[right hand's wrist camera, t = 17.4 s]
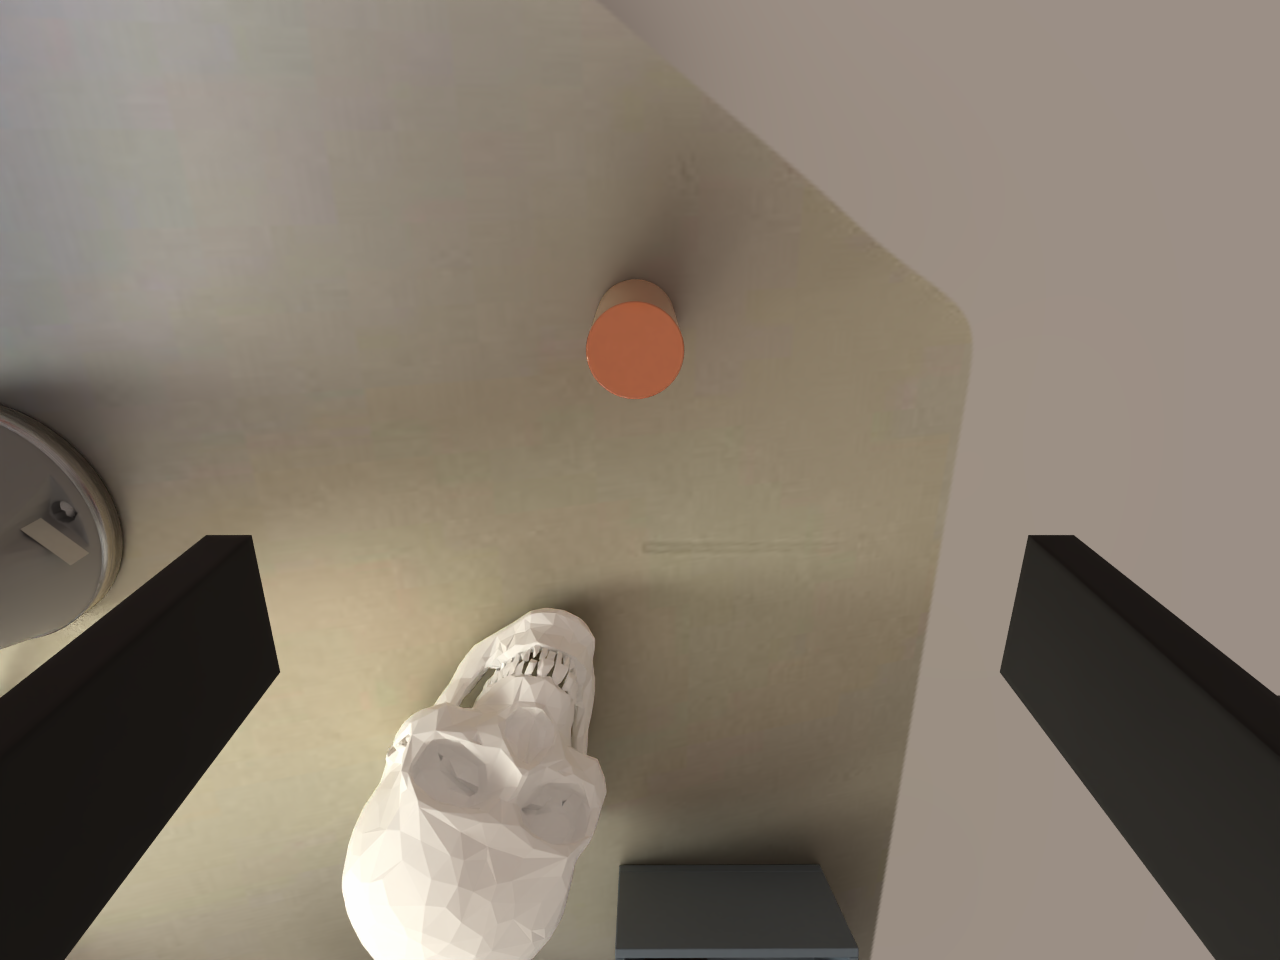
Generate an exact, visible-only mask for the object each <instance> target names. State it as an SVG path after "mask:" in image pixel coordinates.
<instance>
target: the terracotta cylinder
mask: <svg viewBox="0 0 1280 960" xmlns="http://www.w3.org/2000/svg"><path fill="white" fill-rule="evenodd" d="M586 357H587V362H588V365H589V368H590V371H591V372H592V374H593V376H594V377H595V379H596V380H597V381H598V383H599V384H600V385H601V386H602V387H604V388H605V389H606V390H608V391H609V392H611V393H613V394H615V395H617V396H620V397H623V398H628V399H642V398H648V397H651V396H654V395H656V394H658V393H660V392H661V391H663V390H664V389H666V388H667V387H668V386H669V385H670V384H671V383H672V382H673V381H674V379H675V378H676V377H677V375H678V373H679V371H680V369H681V366H682V363H683V359H684V342H683V337H682V334H681V331H680V328H679V324H678V321H677V318H676V315H675V312H674V308H673V305H672V303H671V301H670V299H669V297H668V296H667V294H666V293H665V292H664V291H663V290H662V289H661V288H660V287H658V286H657V285H655V284H653V283H651V282H649V281H646V280H641V279H630V280H625V281H622V282H620V283H618V284H616V285H614V286H613V287H611V288H610V289H609V290H608V291H607V292H606V293H605V294H604V296H603V297H602V299H601V301H600V303H599V305H598V308H597V311H596V314H595V317H594V320H593V323H592V326H591V329H590V332H589V335H588V338H587V343H586Z"/></svg>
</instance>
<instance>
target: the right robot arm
mask: <svg viewBox="0 0 1280 960" xmlns="http://www.w3.org/2000/svg"><path fill="white" fill-rule="evenodd" d="M122 549H123V542H122V531H121V525H120V521H119V517H118V514H117V511H116V508H115V505H114V503H113V501H112V499H111V496H110V494H109V492H108V490H107V489H106V487H105V485H104V484H103V482H102V480H101V479H100V478H99V476H98V475H97V473H96V472H95V470H94V469H93V468H92V467H91V466H90V464H89V463H88V462H87V461H86V460H85V458H84V457H83V456H82V455H81V454H80V453H79V452H78V451H77V450H76V449H75V448H74V447H72V446H71V445H70V444H69V443H68V442H67V441H66V440H64V439H63V438H62V437H60V436H59V435H58V434H57V433H55V432H54V431H52V430H51V429H49V428H48V427H46V426H45V425H43V424H42V423H40V422H38V421H36V420H34V419H33V418H31V417H29V416H27V415H25V414H23V413H20V412H18V411H16V410H13V409H11V408H8V407H5V406H3V405H0V649H3V648H6V647H9V646H12V645H14V644H17V643H20V642H23V641H26V640H29V639H34V638H38V637H42V636H45V635H48V634H51V633H54V632H56V631H58V630H60V629H62V628H64V627H66V626H67V625H69V624H70V623H72V622H73V621H75V620H76V619H77V618H79V617H80V616H81V615H83V614H84V613H85V612H86V611H88V610H89V609H90V608H92V607H93V606H94V605H95V604H97V603H98V602H99V601H100V600H101V599H102V598H103V597H104V596H105V594H106V593H107V592H108V591H109V589H110V588H111V586H112V585H113V583H114V581H115V579H116V577H117V574H118V571H119V568H120V564H121V559H122ZM279 673H280V669H279V664H278V660H277V655H276V650H275V645H274V640H273V636H272V631H271V626H270V621H269V617H268V612H267V607H266V602H265V597H264V593H263V588H262V583H261V578H260V573H259V569H258V564H257V559H256V554H255V549H254V545H253V540H252V535H206V536H205V537H203V538H202V539H201V540H200V541H198V542H197V543H196V544H194V545H193V546H192V547H191V548H189V549H188V550H187V551H186V552H184V553H183V554H182V555H181V556H179V557H178V558H177V559H175V560H174V561H173V562H172V563H170V564H169V565H168V566H167V567H165V568H164V569H163V570H162V571H160V572H159V573H158V574H157V575H155V576H154V577H153V578H151V579H150V580H149V581H148V582H146V583H145V584H144V585H143V586H141V587H140V588H139V589H138V590H136V591H135V592H134V593H132V594H131V595H130V596H129V597H127V598H126V599H125V600H124V601H122V602H121V603H120V604H119V605H117V606H116V607H115V608H113V609H112V610H111V611H110V612H108V613H107V614H106V615H105V616H103V617H102V618H101V619H100V620H98V621H97V622H96V623H95V624H93V625H92V626H91V627H89V628H88V629H87V630H86V631H84V632H83V633H82V634H81V635H79V636H78V637H77V638H76V639H74V640H73V641H72V642H70V643H69V644H68V645H67V646H65V647H64V648H63V649H62V650H60V651H59V652H58V653H57V654H55V655H54V656H53V657H52V658H50V659H49V660H48V661H46V662H45V663H44V664H43V665H41V666H40V667H39V668H38V669H36V670H35V671H34V672H33V673H31V674H30V675H29V676H27V677H26V678H25V679H24V680H22V681H21V682H20V683H19V684H17V685H16V686H15V687H14V688H12V689H11V690H10V691H8V692H7V693H6V694H5V695H3V696H2V697H1V698H0V960H65V958H66V957H67V956H68V954H69V953H70V952H71V950H72V949H73V948H74V946H75V945H76V944H77V942H78V941H79V940H80V938H81V937H82V936H83V934H84V933H85V932H86V930H87V929H88V928H89V926H90V925H91V924H92V922H93V921H94V920H95V918H96V917H97V916H98V914H99V913H100V912H101V910H102V909H103V908H104V906H105V905H106V904H107V902H108V901H109V900H110V898H111V897H112V896H113V894H114V893H115V892H116V890H117V889H118V888H119V886H120V885H121V884H122V882H123V881H124V880H125V878H126V877H127V876H128V874H129V873H130V872H131V870H132V869H133V868H134V866H135V865H136V864H137V862H138V861H139V860H140V858H141V857H142V856H143V854H144V853H145V852H146V850H147V849H148V848H149V846H150V845H151V844H152V842H153V841H154V840H155V838H156V837H157V836H158V834H159V833H160V832H161V830H162V829H163V828H164V826H165V825H166V824H167V822H168V821H169V820H170V818H171V817H172V816H173V814H174V813H175V812H176V810H177V809H178V808H179V806H180V805H181V804H182V802H183V801H184V800H185V798H186V797H187V796H188V794H189V793H190V792H191V790H192V789H193V788H194V786H195V785H196V784H197V782H198V781H199V780H200V778H201V777H202V776H203V774H204V773H205V772H206V770H207V769H208V768H209V766H210V765H211V764H212V762H213V761H214V760H215V758H216V757H217V756H218V754H219V753H220V752H221V750H222V749H223V748H224V746H225V745H226V744H227V742H228V741H229V740H230V738H231V737H232V736H233V734H234V733H235V732H236V730H237V729H238V728H239V726H240V725H241V724H242V722H243V721H244V720H245V718H246V717H247V716H248V714H249V713H250V712H251V710H252V709H253V708H254V706H255V705H256V704H257V702H258V701H259V700H260V698H261V697H262V696H263V694H264V693H265V692H266V690H267V689H268V688H269V686H270V685H271V684H272V682H273V681H274V680H275V678H276V677H277V676H278V674H279ZM1000 673H1001V674H1002V676H1003V677H1004V678H1005V680H1006V681H1007V682H1008V684H1009V685H1010V686H1011V688H1012V689H1013V690H1014V692H1015V693H1016V694H1017V696H1018V697H1019V698H1020V700H1021V701H1022V702H1023V704H1024V705H1025V706H1026V707H1027V709H1028V710H1029V712H1030V713H1031V714H1032V716H1033V717H1034V718H1035V720H1036V721H1037V722H1038V724H1039V725H1040V726H1041V728H1042V729H1043V730H1044V732H1045V733H1046V734H1047V736H1048V737H1049V738H1050V740H1051V741H1052V742H1053V744H1054V745H1055V746H1056V748H1057V749H1058V750H1059V752H1060V753H1061V754H1062V756H1063V757H1064V758H1065V760H1066V761H1067V762H1068V764H1069V765H1070V766H1071V768H1072V769H1073V770H1074V772H1075V773H1076V774H1077V776H1078V777H1079V778H1080V780H1081V781H1082V782H1083V784H1084V785H1085V786H1086V788H1087V789H1088V790H1089V792H1090V793H1091V794H1092V796H1093V797H1094V798H1095V800H1096V801H1097V802H1098V804H1099V805H1100V806H1101V808H1102V809H1103V810H1104V812H1105V813H1106V814H1107V815H1108V817H1109V818H1110V820H1111V821H1112V822H1113V823H1114V825H1115V826H1116V828H1117V829H1118V830H1119V831H1120V833H1121V834H1122V836H1123V837H1124V838H1125V840H1126V841H1127V842H1128V844H1129V845H1130V846H1131V848H1132V849H1133V850H1134V852H1135V853H1136V854H1137V856H1138V857H1139V858H1140V860H1141V861H1142V862H1143V864H1144V865H1145V866H1146V868H1147V869H1148V870H1149V872H1150V873H1151V874H1152V876H1153V877H1154V878H1155V880H1156V881H1157V882H1158V884H1159V885H1160V886H1161V888H1162V889H1163V890H1164V892H1165V893H1166V894H1167V896H1168V897H1169V898H1170V900H1171V901H1172V902H1173V904H1174V905H1175V906H1176V907H1177V909H1178V910H1179V912H1180V913H1181V914H1182V916H1183V917H1184V918H1185V920H1186V921H1187V922H1188V924H1189V925H1190V926H1191V928H1192V929H1193V930H1194V932H1195V933H1196V934H1197V936H1198V937H1199V938H1200V940H1201V941H1202V942H1203V944H1204V945H1205V946H1206V948H1207V949H1208V950H1209V952H1210V953H1211V954H1212V956H1213V957H1214V958H1215V959H1216V960H1280V696H1277V695H1275V694H1274V693H1273V692H1271V691H1270V690H1269V689H1268V688H1266V687H1265V686H1264V685H1263V684H1261V683H1260V682H1259V681H1258V680H1256V679H1255V678H1254V677H1253V676H1251V675H1250V674H1249V673H1247V672H1246V671H1245V670H1244V669H1242V668H1241V667H1240V666H1239V665H1237V664H1236V663H1235V662H1234V661H1232V660H1231V659H1230V658H1228V657H1227V656H1226V655H1225V654H1223V653H1222V652H1221V651H1220V650H1218V649H1217V648H1216V647H1215V646H1213V645H1212V644H1211V643H1210V642H1208V641H1207V640H1206V639H1204V638H1203V637H1202V636H1201V635H1199V634H1198V633H1197V632H1196V631H1194V630H1193V629H1192V628H1190V627H1189V626H1188V625H1187V624H1185V623H1184V622H1183V621H1182V620H1180V619H1179V618H1178V617H1177V616H1175V615H1174V614H1173V613H1172V612H1170V611H1169V610H1168V609H1167V608H1165V607H1164V606H1163V605H1161V604H1160V603H1159V602H1158V601H1156V600H1155V599H1154V598H1153V597H1151V596H1150V595H1149V594H1148V593H1146V592H1145V591H1144V590H1142V589H1141V588H1140V587H1139V586H1137V585H1136V584H1135V583H1134V582H1132V581H1131V580H1130V579H1129V578H1127V577H1126V576H1125V575H1123V574H1122V573H1121V572H1120V571H1118V570H1117V569H1116V568H1115V567H1113V566H1112V565H1111V564H1110V563H1108V562H1107V561H1106V560H1104V559H1103V558H1102V557H1101V556H1099V555H1098V554H1097V553H1096V552H1094V551H1093V550H1092V549H1091V548H1089V547H1088V546H1087V545H1086V544H1084V543H1083V542H1082V541H1080V540H1079V539H1078V538H1077V537H1075V536H1074V535H1028V540H1027V545H1026V549H1025V554H1024V559H1023V564H1022V569H1021V574H1020V578H1019V583H1018V588H1017V593H1016V597H1015V602H1014V607H1013V612H1012V617H1011V621H1010V626H1009V631H1008V636H1007V640H1006V645H1005V650H1004V655H1003V660H1002V665H1001V669H1000Z"/></svg>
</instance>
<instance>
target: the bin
mask: <svg viewBox="0 0 1280 960" xmlns="http://www.w3.org/2000/svg"><path fill="white" fill-rule="evenodd" d="M644 958H707V960H859V958H858V946H857V944H856V942H855V940H854V938H853V936H852V934H851V931H850V929H849V927H848V925H847V923H846V921H845V918H844V916H843V914H842V912H841V910H840V908H839V905H838V903H837V901H836V899H835V897H834V895H833V892H832V890H831V888H830V886H829V884H828V882H827V880H826V877H825V875H824V873H823V871H822V869H821V867H820V865H620V866H619V884H618V905H617V925H616V945H615V960H644Z"/></svg>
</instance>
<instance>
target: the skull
mask: <svg viewBox="0 0 1280 960" xmlns="http://www.w3.org/2000/svg"><path fill="white" fill-rule="evenodd" d="M541 650H542V652H541V654H540V658H539V660H540V659H541V660H540V661H539V662H538V668H537V677H535V676H531V675H532V672H533V670H534V668H535V666H536V664H537V660H534V659H531V660H530V662H529V664H528V666H527V669H526V671H525V673H524V674H522V669H523V664H524V663H525V662H527V661H529V656H530V653H532V652H533V658H534V657H535V656H536V655H537V654H538V653H539V652H540V651H541ZM548 651H549V653H548ZM594 651H595V638H594V636H593V635H592V633H591V631H590V629H589V627H588V626H587V625H586V623H585V622H584V621H583V620H582V619H581V618H579V617H577V616H575V615H573V614H571V613H569V612H567V611H565V610H560V609H553V608H541V609H536V610H531V611H529V612H528V613H526V614H525V615H523V616H522V617H520V618H519V619H517V620H516V621H514V622H513V623H511V624H509V625H508V626H506V627H504V628H502V629H501V630H499V631H497V632H496V633H494V634H492V635H490V636H489V637H487V638H485V639H484V640H482V641H480V642H479V643H477V644H476V645H474V646H473V647H472V649H471V650H470V651H469V652H468V653H467V655H466V656H465V657H464V659H463V660H462V661H461V663H460V664H459V666H458V668H457V670H456V672H455V674H454V675H453V677H452V679H451V681H450V683H449V684H448V686H447V687H446V688H445V690H444V691H443V692H442V694H441V695H440V696H439V698H438V700H437V701H436V703H435V704H434V706H431V707H427V708H424V709H421V710H420V711H418V712H416V713H414V714H412V715H411V716H410V717H409V718H408V719H407V720H406V721H405V722H404V723H403V724H402V726H401V727H400V729H399V730H398V732H397V734H396V736H395V739H394V742H393V744H392V745H391V746H390V747H389V748H388V751H387V756H386V761H387V763H386V766H385V769H384V772H383V775H382V778H381V781H380V783H379V784H378V786H377V787H376V789H375V790H374V792H373V794H372V795H371V797H370V798H369V800H368V801H367V803H366V804H365V806H364V807H363V810H362V812H361V814H360V816H359V818H358V820H357V823H356V825H355V827H354V830H353V832H352V835H351V838H350V841H349V845H348V850H347V855H346V860H345V865H344V870H343V876H342V892H343V896H344V901H345V906H346V910H347V914H348V916H349V919H350V921H351V924H352V926H353V928H354V930H355V932H356V934H357V936H358V938H359V940H360V941H361V943H362V945H363V946H364V947H365V949H366V950H367V951H368V952H369V954H370V955H371V956H372V958H373V959H374V960H531V959H532V958H533V957H534V956H535V955H536V954H537V953H538V952H539V951H540V949H541V948H542V947H543V946H544V945H545V944H546V943H547V941H548V940H549V939H550V938H551V936H552V934H553V932H554V931H555V929H556V927H557V925H558V924H559V922H560V920H561V918H562V916H563V913H564V910H565V906H566V902H567V898H568V894H569V889H570V885H571V881H572V877H573V871H574V866H575V863H576V861H577V859H578V857H579V856H580V854H581V853H582V852H583V851H584V849H585V848H586V847H587V845H588V844H589V842H590V840H591V838H592V836H593V834H594V831H595V829H596V827H597V823H598V819H599V815H600V811H601V808H602V805H603V802H604V799H605V796H606V793H607V790H606V782H605V777H604V774H603V771H602V769H601V766H600V763H599V761H598V759H596V758H594V757H591V756H588V755H587V745H588V728H589V724H590V719H591V715H592V709H593V703H594V696H595V675H594V668H593V656H594ZM547 654H548V656H547ZM556 654H557V656H556V662H555V668H554V671H553V674H552V678H551V677H550V676H547V675H548V673H549V672H550V670H551V669H552V667H553V666H554V658H555V655H556ZM546 656H547V659H546V658H545V657H546ZM521 657H522V659H521ZM562 658H563V664H561V662H562ZM520 660H522V662H521V663H520V664H519V661H520ZM489 668H494V669H496V670H495V673H494V675H492V676H491V678H489V679H488V680H487V682H486V683H485V685H484V687H483V691H482V692H481V693H480V694H479V695H478V696H477V698H476V700H475V702H474V705H473V707H472V708H462V707H459V706H460V704H461V702H462V700H463V698H465V697H466V696H467V695H468V694H469V693H470V692H471V691H472V689H473V688H474V687H475V686H476V684H477V683H478V682H479V680H480V679H481V678H482V677H483V675H484V674H485V673H486V672H487V670H488V669H489ZM567 672H568V674H567ZM566 674H567V676H566ZM565 676H566V679H565V682H564V685H563V687H562V689H561V688H560V687H559V686H558V684H559V683H561V682H562V680H563V679H564V677H565ZM565 691H567V692H565ZM571 727H572V732H573V734H572V737H571Z"/></svg>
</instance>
